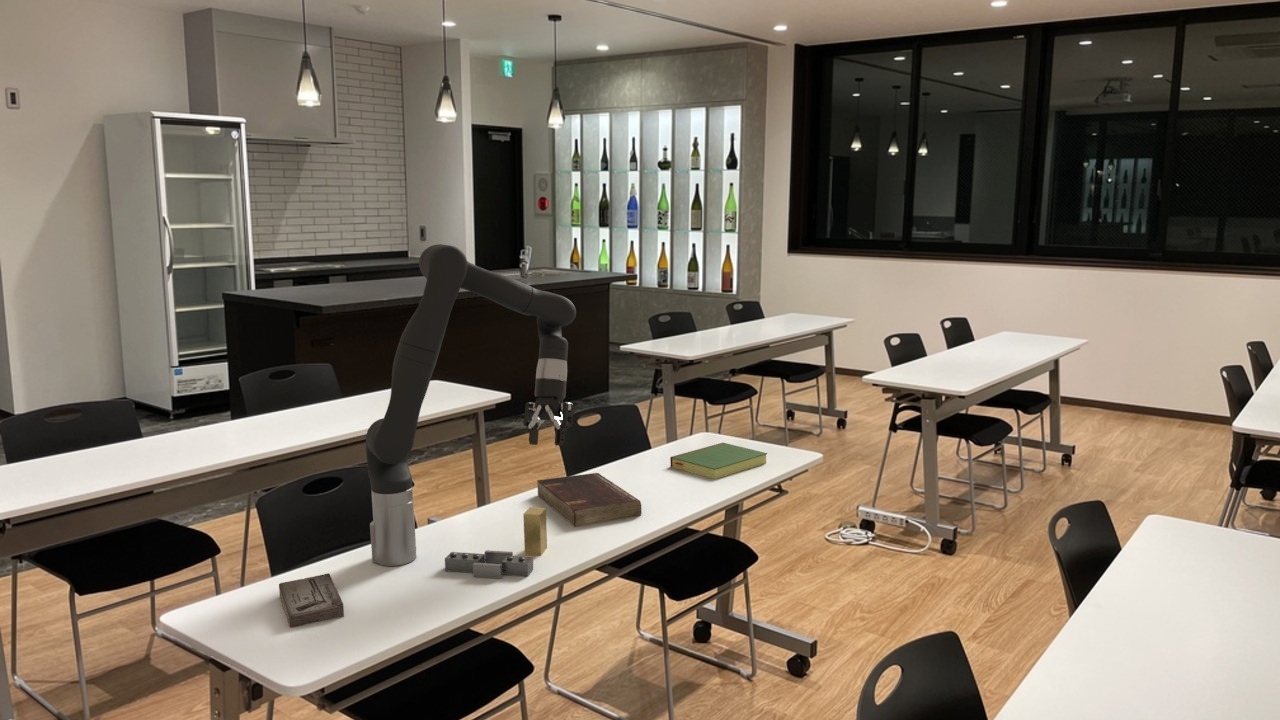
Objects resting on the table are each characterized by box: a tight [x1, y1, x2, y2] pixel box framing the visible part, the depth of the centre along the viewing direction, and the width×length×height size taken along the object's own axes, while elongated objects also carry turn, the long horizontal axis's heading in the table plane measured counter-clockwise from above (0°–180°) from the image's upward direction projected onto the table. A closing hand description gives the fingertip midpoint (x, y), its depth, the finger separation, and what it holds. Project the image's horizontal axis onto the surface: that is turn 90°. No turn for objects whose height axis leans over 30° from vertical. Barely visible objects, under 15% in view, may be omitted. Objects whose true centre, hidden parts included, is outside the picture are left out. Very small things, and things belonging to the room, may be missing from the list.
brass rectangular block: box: [523, 506, 548, 556], centre depth 223 cm, size 4×5×10 cm
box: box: [278, 572, 345, 628], centre depth 194 cm, size 11×17×3 cm, turn 27°
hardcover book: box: [669, 442, 768, 480], centre depth 293 cm, size 25×19×4 cm
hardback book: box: [536, 472, 642, 528], centre depth 256 cm, size 29×19×5 cm, turn 25°
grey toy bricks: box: [444, 549, 534, 580], centre depth 212 cm, size 20×8×4 cm, turn 79°
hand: (545, 445), depth 227 cm, fingers open, 8 cm apart
